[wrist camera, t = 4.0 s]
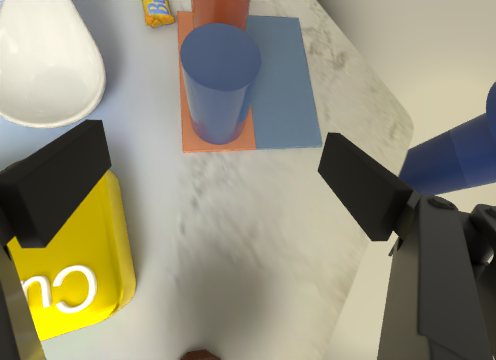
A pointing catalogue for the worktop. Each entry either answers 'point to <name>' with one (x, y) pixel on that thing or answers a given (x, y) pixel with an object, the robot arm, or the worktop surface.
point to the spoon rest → (47, 64)
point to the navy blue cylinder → (219, 80)
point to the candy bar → (157, 13)
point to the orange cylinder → (220, 12)
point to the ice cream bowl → (200, 355)
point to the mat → (266, 91)
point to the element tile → (80, 266)
